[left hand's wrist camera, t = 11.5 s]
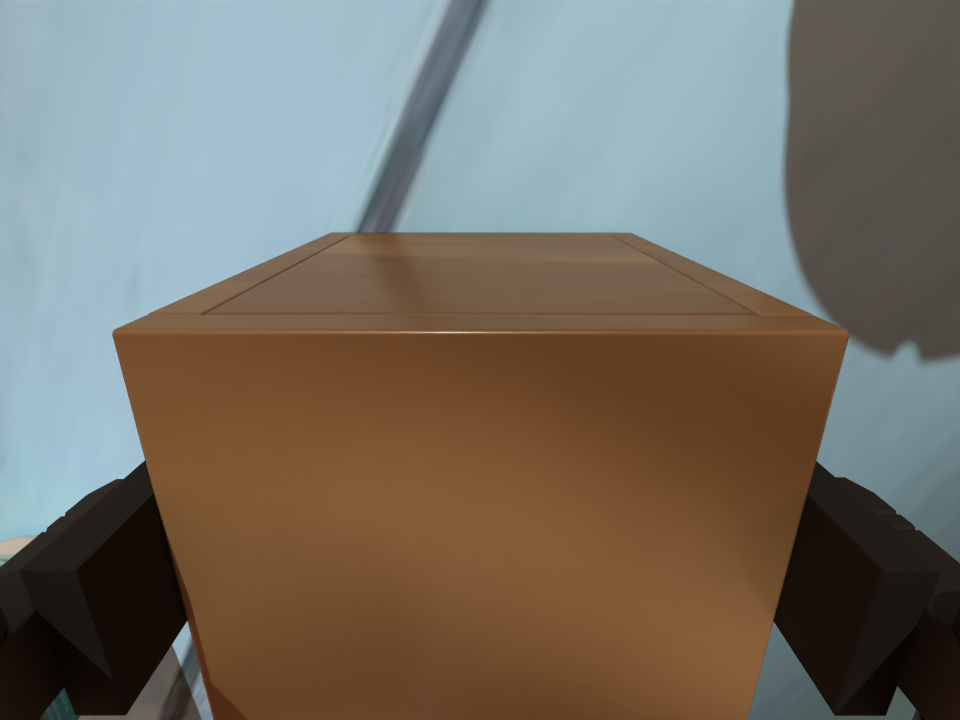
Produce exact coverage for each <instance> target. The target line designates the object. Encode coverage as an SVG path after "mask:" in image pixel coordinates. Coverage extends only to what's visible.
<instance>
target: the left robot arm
mask: <svg viewBox="0 0 960 720" xmlns="http://www.w3.org/2000/svg"><path fill="white" fill-rule="evenodd" d="M186 622H187V617H186V613H185V609H184V605H183V602H182V598H181V594H180V590H179V586H178V583H177V579H176V575H175V571H174V567H173V564H172V560H171V556H170V552H169V548H168V544H167V541H166V537H165V533H164V529H163V525H162V522H161V518H160V514H159V510H158V506H157V503H156V499H155V495H154V491H153V487H152V484H151V480H150V476H149V472H148V468H147V465H146V461H144V462H143V463H142V464H140V465H139V466H138V467H137V468H136V469H135V470H134V471H132V472H131V473H130V474H129V475H128V476H127V477H126V478H124V479H116V480H114V481H112V482H110V483H108V484H106V485H105V486H103V487H101V488H99V489H97V490H95V491H93V492H91V493H90V494H88V495H86V496H85V497H84V498H83V499H82V500H80V501H79V502H78V503H77V504H76V505H74V506H73V507H72V508H71V509H69V510H68V511H67V512H66V513H65V516H61V517H60V518H59V519H57V520H56V521H55V522H54V523H53V524H51V525H50V526H49V527H48V528H47V531H46V532H42V533H41V534H39V535H38V536H37V537H36V538H34V539H33V540H32V541H31V542H30V543H28V544H27V545H26V546H25V547H24V548H22V549H21V550H20V551H19V552H18V553H16V554H15V555H14V556H13V557H12V558H10V559H9V560H8V561H7V562H5V563H4V564H3V565H2V566H1V567H0V720H48V719H47V717H46V714H45V711H46V709H47V708H48V707H49V706H50V704H51V703H52V702H53V701H54V699H55V698H56V697H57V696H58V694H59V693H60V692H61V691H62V690H63V688H65V691H66V693H67V696H68V698H69V701H70V703H71V706H72V709H73V711H74V714H75V715H126V714H127V713H128V711H129V710H130V708H131V707H132V705H133V703H134V702H135V700H136V699H137V697H138V696H139V694H140V693H141V691H142V690H143V688H144V687H145V685H146V683H147V682H148V680H149V679H150V677H151V676H152V674H153V673H154V671H155V670H156V668H157V666H158V665H159V663H160V662H161V660H162V659H163V657H164V656H165V654H166V653H167V651H168V650H169V648H170V646H171V645H172V643H173V642H174V640H175V639H176V637H177V636H178V634H179V633H180V631H181V629H182V628H183V626H184V625H185V623H186ZM774 622H775V624H776V625H777V627H778V629H779V630H780V632H781V633H782V635H783V636H784V638H785V639H786V641H787V642H788V644H789V645H790V647H791V649H792V650H793V652H794V653H795V655H796V656H797V658H798V659H799V661H800V662H801V664H802V666H803V667H804V669H805V670H806V672H807V673H808V675H809V676H810V678H811V679H812V681H813V682H814V684H815V686H816V687H817V689H818V690H819V692H820V693H821V695H822V696H823V698H824V699H825V701H826V703H827V704H828V706H829V707H830V709H831V710H832V712H833V713H834V715H836V716H886V713H887V711H888V708H889V705H890V703H891V700H892V698H893V695H894V693H895V690H896V688H897V686H898V687H899V688H900V689H901V691H902V692H903V693H904V694H905V696H906V697H907V698H908V699H909V701H910V702H911V703H912V704H913V706H914V707H915V708H916V712H915V714H914V717H913V719H912V720H960V563H959V562H957V561H956V560H955V559H954V558H953V557H951V556H950V555H949V554H948V553H946V552H945V551H944V550H943V549H942V548H940V547H939V546H938V545H937V544H936V543H934V542H933V541H932V540H931V539H929V538H928V537H927V536H926V535H925V534H923V533H922V532H921V531H920V530H915V526H914V525H912V524H911V523H910V522H909V521H908V520H906V519H905V518H904V517H903V516H901V515H897V514H896V511H895V510H894V509H893V508H892V507H891V506H889V505H888V504H887V503H886V502H884V501H883V500H882V499H881V498H880V497H878V496H877V495H876V494H875V493H873V492H871V491H869V490H868V489H866V488H864V487H862V486H860V485H858V484H856V483H854V482H852V481H850V480H849V479H847V478H845V477H834V476H833V475H832V474H831V473H829V472H828V471H827V470H826V469H825V468H824V467H823V466H821V465H820V464H819V463H818V462H817V461H816V463H815V467H814V470H813V474H812V478H811V482H810V485H809V489H808V493H807V497H806V500H805V504H804V508H803V512H802V516H801V519H800V523H799V527H798V531H797V534H796V538H795V542H794V546H793V550H792V553H791V557H790V561H789V565H788V568H787V572H786V576H785V580H784V583H783V587H782V591H781V595H780V599H779V602H778V606H777V610H776V614H775V617H774Z"/></svg>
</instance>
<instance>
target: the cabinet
mask: <svg viewBox="0 0 960 720" xmlns="http://www.w3.org/2000/svg"><path fill="white" fill-rule="evenodd" d="M848 338H849V332H848V331H847V330H845V329H843V328H841V327H838V326H836V325H834V324H832V323H829V322H827V321H825V320H823V319H821V318H818V317H816V316H813V315H812V314H810V313H808V312H806V311H804V310H801V309H799V308H797V307H795V306H792V305H790V304H788V303H786V302H783V301H781V300H779V299H777V298H775V297H772V296H770V295H768V294H766V293H763V292H761V291H759V290H757V289H754V288H752V287H750V286H748V285H746V284H743V283H741V282H739V281H737V280H734V279H732V278H730V277H728V276H725V275H723V274H721V273H719V272H717V271H714V270H712V269H710V268H708V267H705V266H703V265H701V264H699V263H696V262H694V261H692V260H690V259H687V258H685V257H683V256H681V255H679V254H676V253H674V252H672V251H670V250H667V249H665V248H663V247H661V246H658V245H656V244H654V243H652V242H650V241H647V240H645V239H643V238H641V237H638V236H637V235H634V234H632V233H329V234H327V235H325V236H323V237H320V238H318V239H316V240H314V241H311V242H309V243H307V244H305V245H302V246H300V247H298V248H296V249H293V250H291V251H289V252H286V253H284V254H282V255H280V256H277V257H275V258H273V259H271V260H268V261H266V262H264V263H262V264H259V265H257V266H255V267H253V268H250V269H248V270H246V271H244V272H241V273H239V274H237V275H235V276H232V277H230V278H228V279H226V280H223V281H221V282H219V283H217V284H214V285H212V286H210V287H208V288H205V289H203V290H201V291H199V292H196V293H194V294H192V295H190V296H187V297H185V298H183V299H181V300H178V301H176V302H174V303H172V304H169V305H167V306H165V307H163V308H160V309H158V310H156V311H154V312H151V313H149V314H148V315H146V316H144V317H142V318H139V319H137V320H135V321H133V322H130V323H128V324H126V325H124V326H122V327H119V328H117V329H115V330H114V331H113V339H114V343H115V347H116V351H117V354H118V358H119V362H120V366H121V370H122V373H123V377H124V381H125V385H126V389H127V392H128V396H129V400H130V404H131V408H132V411H133V415H134V419H135V423H136V427H137V430H138V434H139V438H140V442H141V446H142V449H143V453H144V457H145V461H146V465H147V468H148V472H149V476H150V480H151V484H152V487H153V491H154V495H155V499H156V503H157V506H158V510H159V514H160V518H161V522H162V525H163V529H164V533H165V537H166V541H167V544H168V548H169V552H170V556H171V560H172V564H173V567H174V571H175V575H176V579H177V583H178V586H179V590H180V594H181V598H182V602H183V605H184V609H185V613H186V617H187V621H188V624H189V628H190V632H191V636H192V640H193V643H194V647H195V651H196V655H197V659H198V662H199V666H200V670H201V674H202V678H203V681H204V685H205V689H206V693H207V697H208V700H209V704H210V708H211V712H212V716H213V719H214V720H747V719H748V715H749V712H750V708H751V704H752V700H753V697H754V693H755V689H756V685H757V682H758V678H759V674H760V670H761V666H762V663H763V659H764V655H765V651H766V648H767V644H768V640H769V636H770V632H771V629H772V625H773V621H774V617H775V614H776V610H777V606H778V602H779V599H780V595H781V591H782V587H783V583H784V580H785V576H786V572H787V568H788V565H789V561H790V557H791V553H792V550H793V546H794V542H795V538H796V534H797V531H798V527H799V523H800V519H801V516H802V512H803V508H804V504H805V500H806V497H807V493H808V489H809V485H810V482H811V478H812V474H813V470H814V467H815V463H816V459H817V455H818V451H819V448H820V444H821V440H822V436H823V433H824V429H825V425H826V421H827V418H828V414H829V410H830V406H831V402H832V399H833V395H834V391H835V387H836V384H837V380H838V376H839V372H840V369H841V365H842V361H843V357H844V353H845V350H846V346H847V342H848Z"/></svg>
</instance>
